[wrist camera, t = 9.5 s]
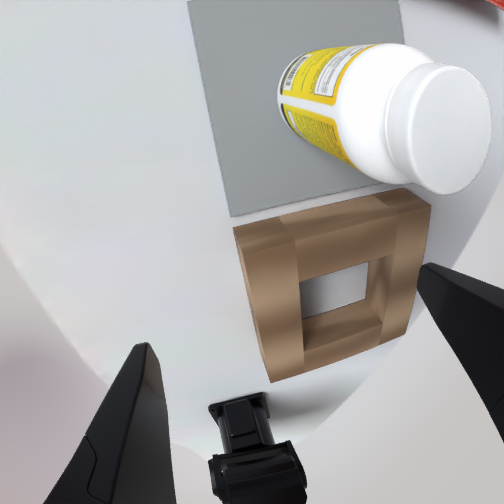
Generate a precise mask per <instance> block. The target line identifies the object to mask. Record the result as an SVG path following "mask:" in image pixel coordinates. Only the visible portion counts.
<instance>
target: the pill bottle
mask: <svg viewBox="0 0 504 504" xmlns="http://www.w3.org/2000/svg"><path fill="white" fill-rule="evenodd" d="M277 101H278V107H279V110H280V113H281V116H282V118H283V120H284V122H285V123H286V125H287V126H288V127H289V128H290V129H291V130H292V131H293V132H294V133H295V134H296V135H297V136H299V137H300V138H302V139H303V140H305V141H307V142H309V143H310V144H312V145H314V146H316V147H318V148H320V149H322V150H323V151H325V152H327V153H329V154H331V155H333V156H335V157H336V158H338V159H340V160H342V161H343V162H345V163H347V164H349V165H350V166H352V167H354V168H355V169H357V170H358V171H360V172H362V173H364V174H365V175H367V176H369V177H371V178H373V179H376V180H378V181H381V182H385V183H389V184H408V183H412V182H413V183H415V184H417V185H419V186H421V187H423V188H425V189H427V190H429V191H430V192H433V193H435V194H439V195H451V194H455V193H457V192H459V191H461V190H463V189H464V188H466V187H467V186H468V185H469V184H470V183H471V182H472V181H473V180H474V179H475V178H476V176H477V175H478V173H479V172H480V170H481V168H482V166H483V164H484V162H485V159H486V157H487V154H488V151H489V147H490V141H491V134H492V118H491V110H490V105H489V101H488V98H487V96H486V93H485V91H484V89H483V87H482V86H481V84H480V83H479V82H478V80H477V79H476V78H475V77H474V76H473V75H472V74H471V73H469V72H468V71H466V70H464V69H462V68H460V67H456V66H451V65H446V64H440V63H435V62H434V61H433V60H432V59H431V58H430V57H429V56H427V55H426V54H424V53H423V52H421V51H419V50H417V49H415V48H413V47H410V46H407V45H402V44H394V43H385V44H369V45H356V46H345V47H336V48H326V49H319V50H313V51H309V52H307V53H304V54H302V55H300V56H298V57H297V58H295V59H294V60H293V61H292V62H291V63H290V64H289V65H288V66H287V67H286V69H285V70H284V72H283V74H282V76H281V78H280V81H279V85H278V91H277Z"/></svg>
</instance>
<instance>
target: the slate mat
mask: <svg viewBox="0 0 504 504" xmlns="http://www.w3.org/2000/svg"><path fill="white" fill-rule="evenodd" d="M187 4H188V10H189V15H190V20H191V26H192V31H193V36H194V41H195V46H196V52H197V57H198V62H199V67H200V72H201V77H202V82H203V87H204V92H205V97H206V102H207V107H208V112H209V117H210V122H211V127H212V132H213V137H214V141H215V146H216V151H217V156H218V161H219V165H220V170H221V175H222V180H223V185H224V189H225V194H226V199H227V203H228V208H229V213H230V216H231V217H234V216H238V215H242V214H246V213H250V212H254V211H258V210H263V209H267V208H271V207H275V206H279V205H283V204H288V203H292V202H296V201H301V200H305V199H310V198H314V197H318V196H323V195H327V194H332V193H337V192H341V191H346V190H350V189H355V188H360V187H365V186H370V185H374V184H379V183H384V182H381V181H378V180H376V179H373V178H371V177H369V176H367V175H365V174H364V173H362V172H360V171H358V170H357V169H355V168H354V167H352V166H350V165H349V164H347V163H345V162H343V161H342V160H340V159H338V158H336V157H335V156H333V155H331V154H329V153H327V152H325V151H323V150H322V149H320V148H318V147H316V146H314V145H312V144H310V143H309V142H307V141H305V140H303V139H302V138H300V137H299V136H297V135H296V134H295V133H294V132H293V131H292V130H291V129H290V128H289V127H288V126H287V125H286V123H285V122H284V120H283V118H282V116H281V113H280V110H279V107H278V101H277V91H278V85H279V81H280V78H281V76H282V74H283V72H284V70H285V69H286V67H287V66H288V65H289V64H290V63H291V62H292V61H293V60H294V59H295V58H297V57H298V56H300V55H302V54H304V53H307V52H309V51H313V50H319V49H326V48H336V47H345V46H356V45H369V44H385V43H394V44H402V45H404V40H403V32H402V24H401V17H400V11H399V5H398V0H191V1H187Z"/></svg>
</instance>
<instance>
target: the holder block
mask: <svg viewBox="0 0 504 504" xmlns="http://www.w3.org/2000/svg"><path fill="white" fill-rule="evenodd" d="M430 213H431V205H430V204H428V203H427V202H425V201H424V200H422V199H421V198H419V197H418V196H416V195H415V194H413V193H412V192H410V191H408V190H407V189H405V188H400V189H395V190H391V191H386V192H381V193H377V194H372V195H368V196H363V197H359V198H354V199H350V200H346V201H341V202H337V203H332V204H328V205H324V206H320V207H315V208H311V209H307V210H303V211H298V212H294V213H290V214H286V215H282V216H278V217H274V218H270V219H265V220H261V221H257V222H253V223H249V224H245V225H241V226H237V227H234V228H233V231H234V236H235V241H236V245H237V250H238V254H239V259H240V263H241V268H242V272H243V277H244V281H245V286H246V290H247V295H248V299H249V304H250V308H251V313H252V317H253V322H254V326H255V330H256V335H257V339H258V344H259V348H260V352H261V356H262V359H263V362H264V365H265V368H266V371H267V374H268V377H269V380H270V383H273V382H276V381H280V380H283V379H286V378H290V377H293V376H296V375H299V374H302V373H305V372H308V371H311V370H314V369H317V368H320V367H323V366H326V365H329V364H332V363H334V362H337V361H340V360H343V359H345V358H348V357H351V356H353V355H356V354H359V353H361V352H364V351H366V350H369V349H371V348H374V347H376V346H378V345H381V344H383V343H386V342H388V341H390V340H393V339H395V338H397V337H400V336H402V335H404V334H405V333H406V329H407V326H408V322H409V318H410V315H411V311H412V307H413V303H414V299H415V295H416V290H417V280H418V275H419V270H420V267H421V266H422V262H423V257H424V251H425V246H426V240H427V234H428V227H429V220H430ZM368 261H369V264H368V276H367V286H366V296H365V299H364V300H361V301H358V302H355V303H352V304H349V305H347V306H344V307H341V308H338V309H335V310H332V311H329V312H325V313H322V314H319V315H316V316H313V317H310V318H307V319H303V320H302V319H301V305H300V292H299V282H302V281H305V280H309V279H312V278H316V277H319V276H322V275H326V274H329V273H332V272H336V271H339V270H342V269H345V268H349V267H352V266H355V265H358V264H362V263H365V262H368Z"/></svg>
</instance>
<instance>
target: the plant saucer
mask: <svg viewBox="0 0 504 504" xmlns="http://www.w3.org/2000/svg"><path fill="white" fill-rule="evenodd" d="M486 1H487V2H489V3H491V4H493V5H494V6H496V7H498V8H500V9H501V10H503V11H504V0H486Z"/></svg>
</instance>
